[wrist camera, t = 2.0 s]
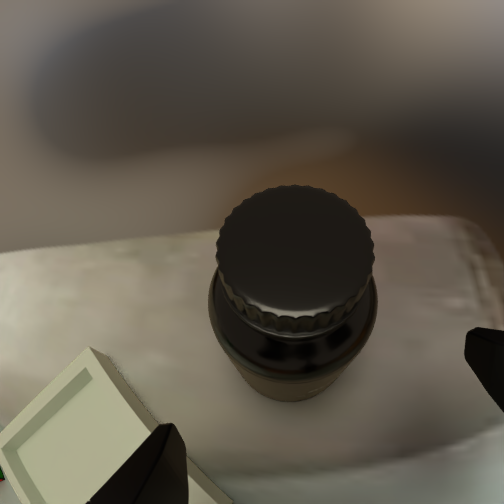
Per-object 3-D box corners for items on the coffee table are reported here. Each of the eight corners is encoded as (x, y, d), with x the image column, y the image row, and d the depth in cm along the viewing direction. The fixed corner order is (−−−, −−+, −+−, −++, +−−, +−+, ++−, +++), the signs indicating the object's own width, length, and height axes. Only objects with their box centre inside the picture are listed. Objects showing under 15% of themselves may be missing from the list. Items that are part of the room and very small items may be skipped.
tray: (233, 501, 14) (225, 510, 12) (105, 580, 10) (88, 589, 8) (107, 356, 20) (88, 346, 18) (11, 446, 16) (-10, 443, 14)
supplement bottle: (330, 414, 17) (390, 389, 7) (222, 384, 19) (139, 320, 8) (354, 312, 20) (409, 183, 10) (256, 289, 22) (225, 151, 12)
